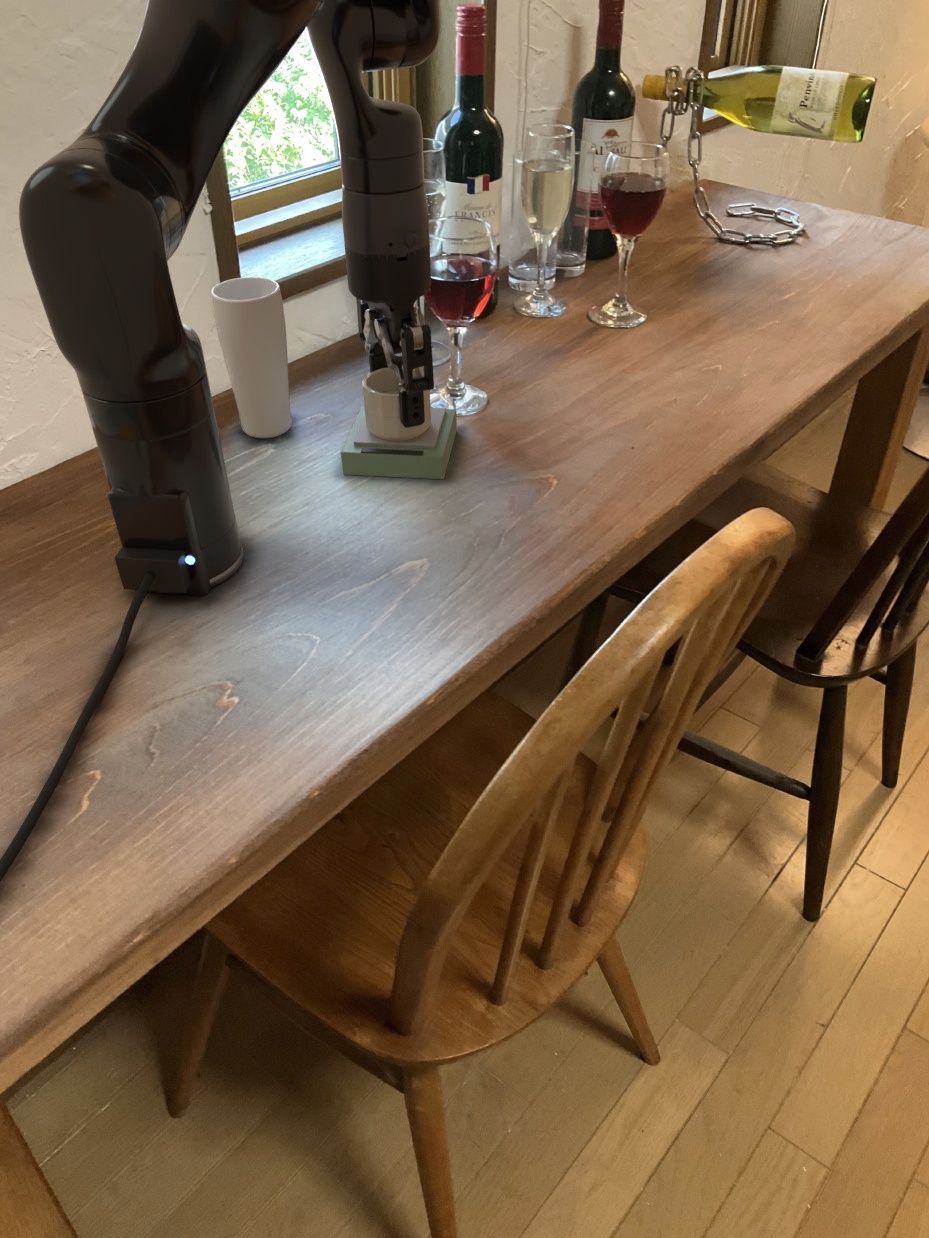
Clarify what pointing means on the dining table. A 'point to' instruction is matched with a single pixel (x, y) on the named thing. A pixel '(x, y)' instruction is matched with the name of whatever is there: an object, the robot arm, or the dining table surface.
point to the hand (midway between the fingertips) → (397, 406)
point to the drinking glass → (255, 352)
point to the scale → (401, 449)
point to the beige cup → (389, 407)
